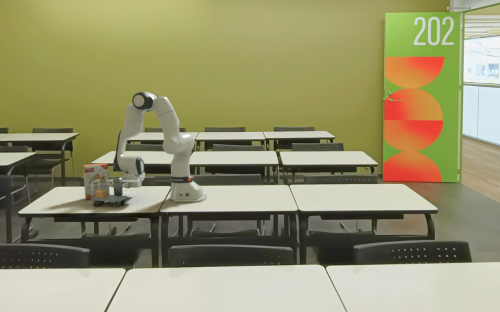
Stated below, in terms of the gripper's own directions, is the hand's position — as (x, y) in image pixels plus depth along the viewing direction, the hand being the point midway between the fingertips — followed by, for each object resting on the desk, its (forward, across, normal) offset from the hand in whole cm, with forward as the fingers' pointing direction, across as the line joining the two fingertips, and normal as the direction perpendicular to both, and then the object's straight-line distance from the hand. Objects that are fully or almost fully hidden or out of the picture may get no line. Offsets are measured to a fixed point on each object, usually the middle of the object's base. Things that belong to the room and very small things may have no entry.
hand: (117, 186), depth 273 cm
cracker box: (-15, -22, +12) cm, 29 cm away
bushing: (-1, 0, +6) cm, 6 cm away
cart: (-1, -6, +12) cm, 13 cm away
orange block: (-1, -11, +7) cm, 13 cm away
